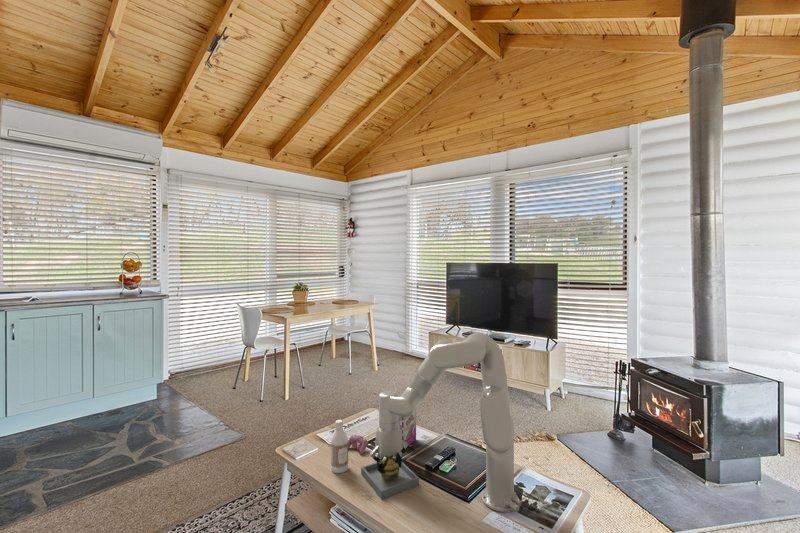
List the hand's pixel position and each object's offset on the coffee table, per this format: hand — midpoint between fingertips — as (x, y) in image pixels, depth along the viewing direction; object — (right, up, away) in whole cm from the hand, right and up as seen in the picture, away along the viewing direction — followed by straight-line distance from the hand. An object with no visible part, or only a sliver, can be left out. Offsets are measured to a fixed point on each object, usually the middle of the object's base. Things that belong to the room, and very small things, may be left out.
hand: (389, 468), depth 146 cm
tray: (0, -4, 0) cm, 4 cm away
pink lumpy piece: (-16, -4, +23) cm, 28 cm away
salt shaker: (0, -3, 0) cm, 3 cm away
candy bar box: (+7, -4, +28) cm, 29 cm away
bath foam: (-21, -5, +8) cm, 23 cm away
